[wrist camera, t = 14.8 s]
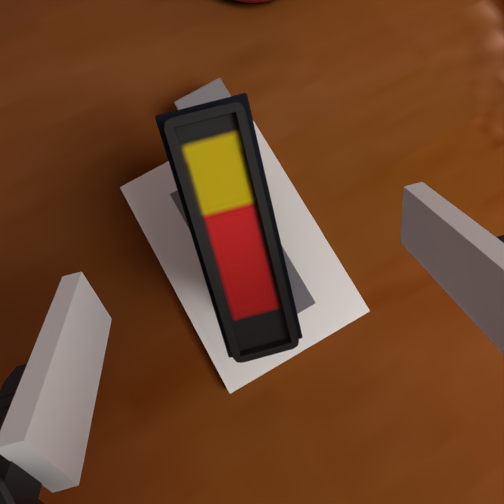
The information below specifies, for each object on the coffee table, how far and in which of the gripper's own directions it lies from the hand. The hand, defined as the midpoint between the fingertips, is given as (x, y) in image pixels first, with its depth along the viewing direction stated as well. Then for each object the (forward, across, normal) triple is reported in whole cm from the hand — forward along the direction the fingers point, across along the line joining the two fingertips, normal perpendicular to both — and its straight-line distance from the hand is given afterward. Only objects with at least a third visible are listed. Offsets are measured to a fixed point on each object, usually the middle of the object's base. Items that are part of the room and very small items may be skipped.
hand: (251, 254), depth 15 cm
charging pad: (+13, -1, -7) cm, 14 cm away
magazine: (+11, 0, -8) cm, 13 cm away
